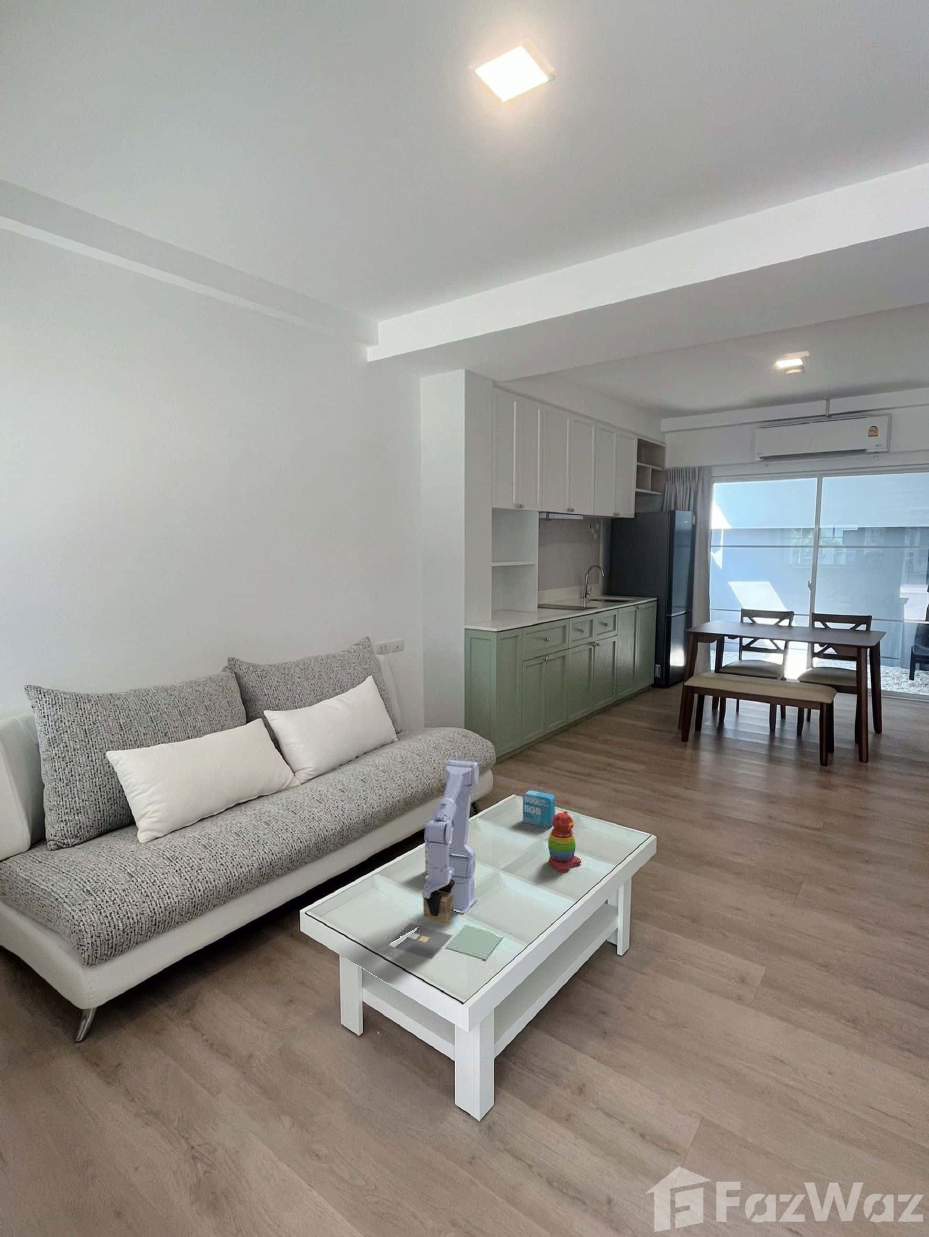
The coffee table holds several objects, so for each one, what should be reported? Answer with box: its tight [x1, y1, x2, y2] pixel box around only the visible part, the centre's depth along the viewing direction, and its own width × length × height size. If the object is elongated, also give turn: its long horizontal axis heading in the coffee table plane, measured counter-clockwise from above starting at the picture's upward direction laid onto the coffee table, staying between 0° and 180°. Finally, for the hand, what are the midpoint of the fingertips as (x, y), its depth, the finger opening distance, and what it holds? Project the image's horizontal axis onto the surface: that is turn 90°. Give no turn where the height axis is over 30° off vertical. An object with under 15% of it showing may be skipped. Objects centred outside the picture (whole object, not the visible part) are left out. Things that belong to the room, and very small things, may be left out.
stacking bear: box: [547, 811, 582, 873], centre depth 228 cm, size 11×10×18 cm
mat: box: [445, 924, 503, 961], centre depth 183 cm, size 12×12×1 cm
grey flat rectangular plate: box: [389, 922, 453, 960], centre depth 184 cm, size 12×14×1 cm
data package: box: [522, 789, 556, 828], centre depth 261 cm, size 12×4×12 cm, turn 60°
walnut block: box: [422, 890, 455, 924], centre depth 183 cm, size 4×7×6 cm, turn 63°
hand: (439, 910), depth 183 cm, fingers closed on walnut block, 4 cm apart
